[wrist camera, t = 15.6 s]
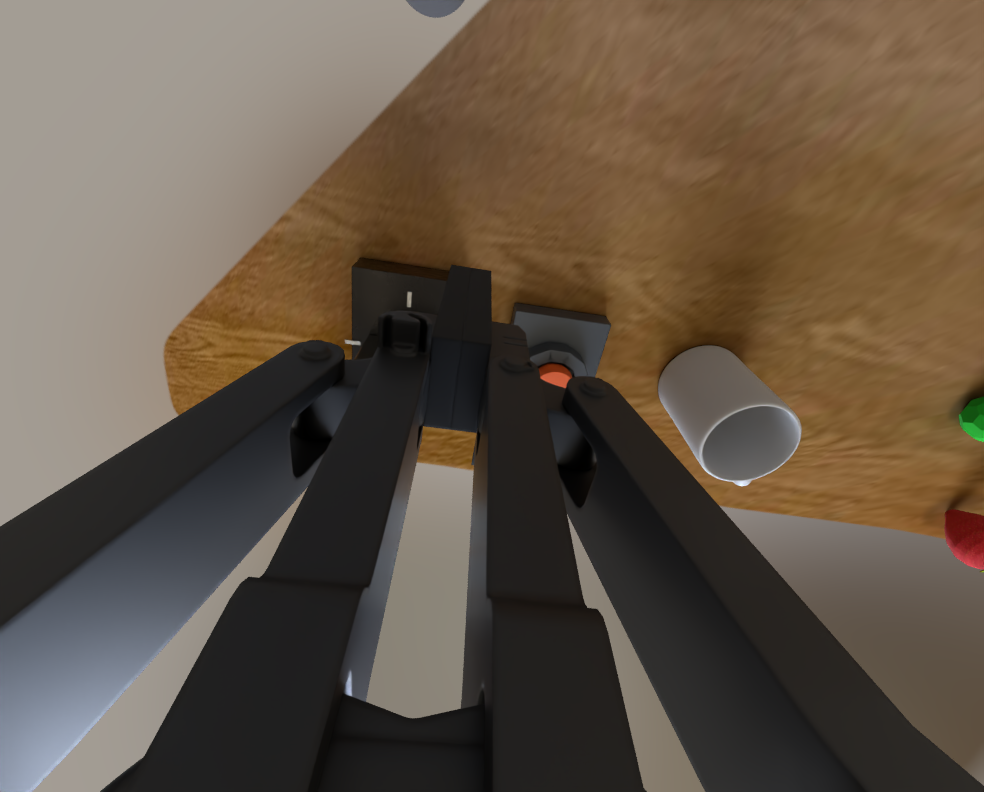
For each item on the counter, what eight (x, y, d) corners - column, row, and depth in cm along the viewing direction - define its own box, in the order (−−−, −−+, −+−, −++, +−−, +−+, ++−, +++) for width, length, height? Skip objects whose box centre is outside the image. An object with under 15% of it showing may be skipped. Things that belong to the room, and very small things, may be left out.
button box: (514, 302, 43) (516, 317, 39) (606, 316, 43) (616, 332, 40) (494, 407, 49) (495, 428, 45) (575, 417, 49) (581, 439, 46)
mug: (649, 360, 46) (691, 422, 36) (735, 332, 44) (802, 388, 35) (670, 447, 52) (710, 519, 42) (747, 425, 50) (806, 494, 41)
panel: (353, 256, 40) (343, 265, 38) (477, 275, 41) (476, 286, 38) (354, 389, 47) (345, 405, 45) (459, 402, 48) (457, 419, 46)
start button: (535, 360, 42) (536, 369, 40) (576, 366, 42) (580, 375, 41) (526, 396, 44) (528, 406, 42) (566, 401, 44) (569, 411, 43)
